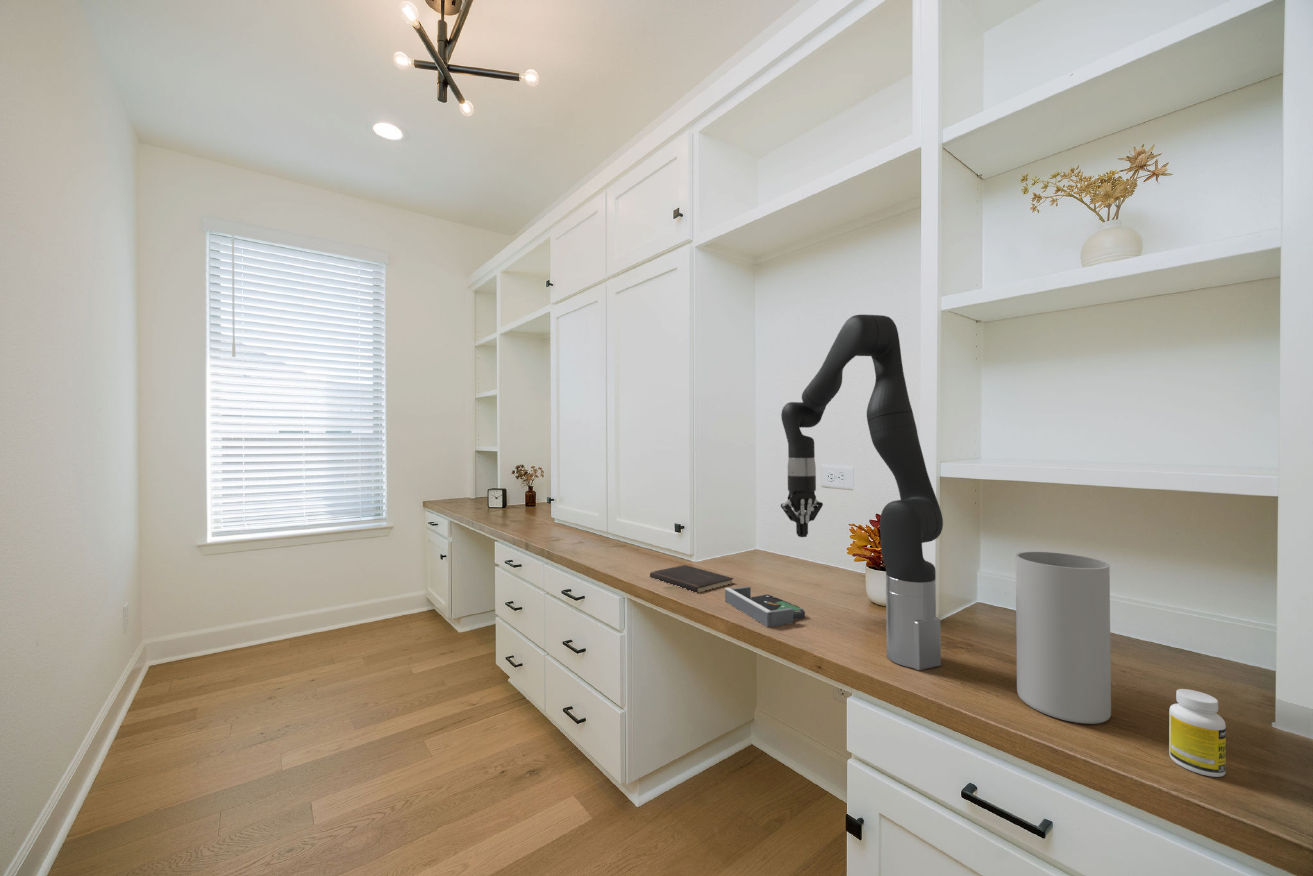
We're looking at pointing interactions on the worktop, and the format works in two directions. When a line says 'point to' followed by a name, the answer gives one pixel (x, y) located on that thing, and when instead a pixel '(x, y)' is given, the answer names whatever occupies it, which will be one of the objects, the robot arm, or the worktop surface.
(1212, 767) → the supplement bottle
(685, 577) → the hardcover book
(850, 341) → the robot arm
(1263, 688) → the worktop surface
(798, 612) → the disk drive
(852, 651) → the worktop surface
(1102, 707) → the cylinder vase
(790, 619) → the dock
